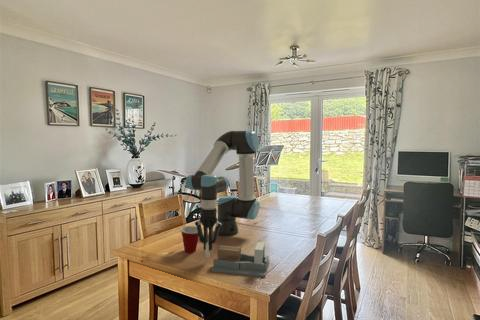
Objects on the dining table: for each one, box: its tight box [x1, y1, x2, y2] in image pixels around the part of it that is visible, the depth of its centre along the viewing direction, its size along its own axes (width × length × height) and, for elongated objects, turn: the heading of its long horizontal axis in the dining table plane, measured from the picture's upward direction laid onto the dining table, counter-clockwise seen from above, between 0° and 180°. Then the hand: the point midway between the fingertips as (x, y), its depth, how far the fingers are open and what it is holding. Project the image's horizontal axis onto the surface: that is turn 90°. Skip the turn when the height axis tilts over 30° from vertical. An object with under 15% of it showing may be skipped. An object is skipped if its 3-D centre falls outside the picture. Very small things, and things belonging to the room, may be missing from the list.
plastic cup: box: [180, 225, 199, 254], centre depth 152 cm, size 11×11×12 cm
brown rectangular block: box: [217, 244, 242, 262], centre depth 135 cm, size 5×10×7 cm, turn 78°
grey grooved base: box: [211, 242, 270, 278], centre depth 134 cm, size 16×24×11 cm, turn 78°
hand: (207, 256), depth 138 cm, fingers closed
